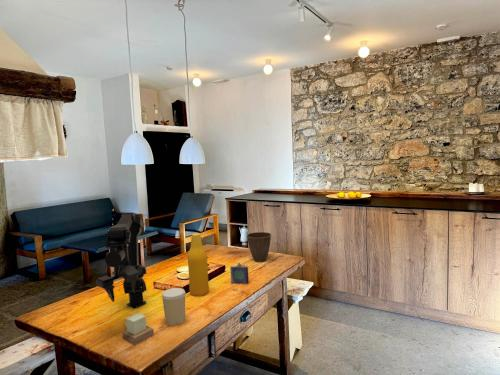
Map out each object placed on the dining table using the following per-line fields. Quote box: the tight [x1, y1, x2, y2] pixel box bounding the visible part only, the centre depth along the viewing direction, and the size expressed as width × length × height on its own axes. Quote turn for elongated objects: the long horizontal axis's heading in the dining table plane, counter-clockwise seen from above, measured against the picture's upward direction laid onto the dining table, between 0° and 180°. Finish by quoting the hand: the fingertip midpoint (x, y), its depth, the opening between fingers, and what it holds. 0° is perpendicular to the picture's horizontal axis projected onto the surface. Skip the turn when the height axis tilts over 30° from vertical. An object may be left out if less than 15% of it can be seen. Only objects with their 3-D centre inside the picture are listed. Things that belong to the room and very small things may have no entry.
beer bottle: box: [187, 232, 210, 297], centre depth 166 cm, size 9×9×29 cm
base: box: [121, 324, 155, 346], centre depth 129 cm, size 8×8×3 cm
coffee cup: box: [161, 287, 186, 326], centre depth 139 cm, size 9×9×12 cm
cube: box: [125, 312, 147, 335], centre depth 128 cm, size 5×5×5 cm
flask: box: [230, 262, 249, 285], centre depth 177 cm, size 9×3×11 cm, turn 79°
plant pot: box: [246, 231, 272, 263], centre depth 212 cm, size 15×15×16 cm
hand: (123, 297), depth 136 cm, fingers open, 9 cm apart
